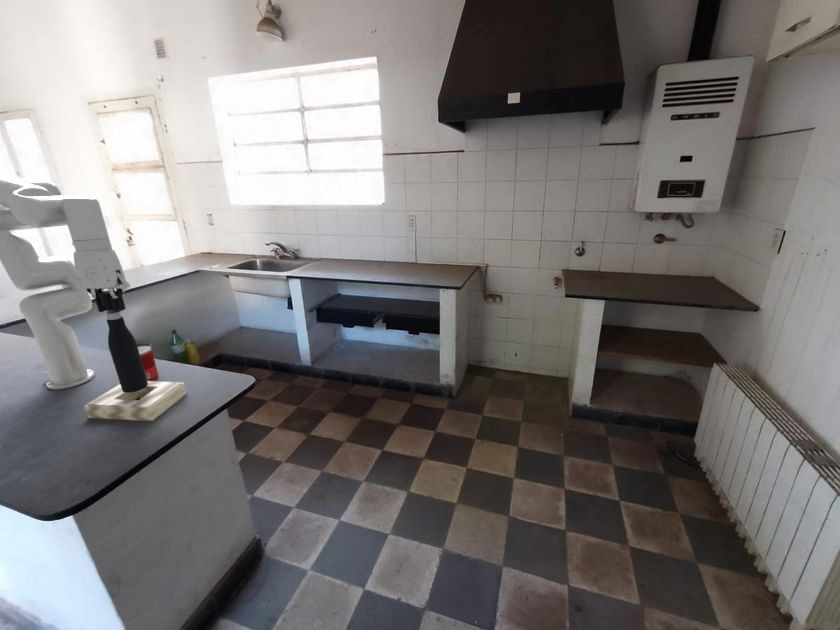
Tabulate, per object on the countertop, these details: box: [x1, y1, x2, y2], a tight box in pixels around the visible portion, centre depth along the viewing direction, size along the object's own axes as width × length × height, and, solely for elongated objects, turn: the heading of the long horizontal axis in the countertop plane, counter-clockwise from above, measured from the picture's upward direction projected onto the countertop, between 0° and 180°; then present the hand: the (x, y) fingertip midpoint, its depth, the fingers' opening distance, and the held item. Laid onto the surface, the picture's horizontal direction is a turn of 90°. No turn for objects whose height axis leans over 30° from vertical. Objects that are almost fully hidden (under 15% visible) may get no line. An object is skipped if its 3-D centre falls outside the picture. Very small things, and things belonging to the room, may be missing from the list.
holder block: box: [84, 380, 188, 422], centre depth 117 cm, size 20×15×4 cm
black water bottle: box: [98, 290, 148, 393], centre depth 111 cm, size 6×6×30 cm
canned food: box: [137, 345, 159, 381], centre depth 132 cm, size 8×8×11 cm
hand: (112, 310), depth 107 cm, fingers closed on black water bottle, 3 cm apart
